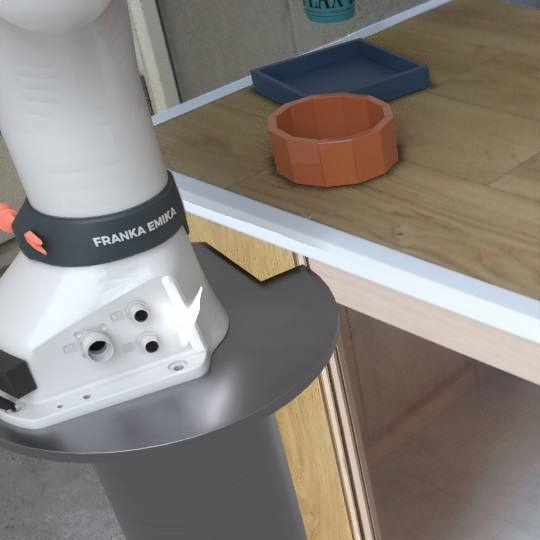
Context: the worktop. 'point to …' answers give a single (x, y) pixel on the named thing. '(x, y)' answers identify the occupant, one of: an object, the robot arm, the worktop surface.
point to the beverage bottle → (329, 10)
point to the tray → (342, 73)
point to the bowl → (333, 139)
